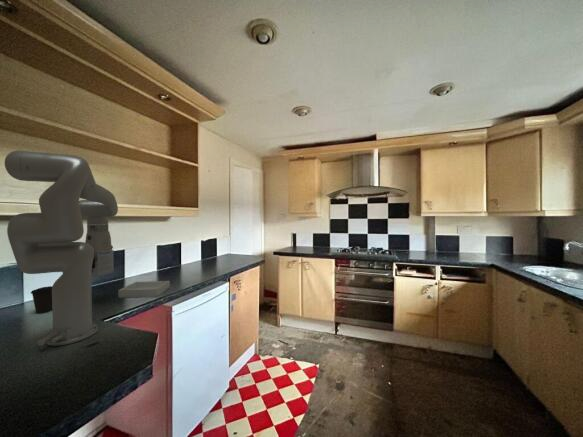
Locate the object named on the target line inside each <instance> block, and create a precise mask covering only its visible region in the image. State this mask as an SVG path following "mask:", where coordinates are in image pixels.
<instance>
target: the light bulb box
mask: <svg viewBox="0 0 583 437" xmlns="http://www.w3.org/2000/svg"><path fill="white" fill-rule="evenodd" d="M93 259H94V260H95V267H94V268H92V271H91V276H95V277H99V276H100V277H101V276H104V275H109V274H113V273H114V272H115V271H114V270H115V268H114V266H115V265H114V262H115V261H114V249H112V250H103V251H98V252H96V253H95V254H94V258H93Z"/></svg>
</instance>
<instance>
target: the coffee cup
mask: <svg viewBox="0 0 583 437" xmlns="http://www.w3.org/2000/svg"><path fill="white" fill-rule="evenodd" d="M52 286H53V285H52ZM52 286H50V285H49V286H43V287H42V286H41V287H39V288H36V289H33V290H31V292H30V294H32V295H31V296H32V299H33V300H32V301H33V305H34V310H35V313H36V314H37V315H39V314H47V313H50V312H52Z"/></svg>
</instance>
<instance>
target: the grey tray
mask: <svg viewBox="0 0 583 437" xmlns="http://www.w3.org/2000/svg"><path fill="white" fill-rule="evenodd" d="M170 288H171V282H170V280H156V281H154V280H153V281H134V282H132V283H131V284H128V285H125V286H124V287H122V288H120V289H118V290H117V292H118V293H117V295H118V296H117V297H118V299H140V298H141V297H150V298H157V296H158V295H159V296H161V295H162V294H164V293H165V292H167V291H168V290H169V289H170ZM160 294H161V295H160ZM159 296H158V297H159ZM141 299H142V298H141Z"/></svg>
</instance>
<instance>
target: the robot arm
mask: <svg viewBox="0 0 583 437" xmlns="http://www.w3.org/2000/svg"><path fill="white" fill-rule="evenodd" d="M4 167H5V170H6V172H7V174H8V175H9V176H10V177H12V178H13V179H15V180H18V181H22V182H41V183H42V182H43V183H53V184H51V185H50V186H49V187H48V188H47V189H45V190H44V191H43V192H42V194H41V195H40V196H39V198H38V205H39V209H40V212H22V213H19V214H16V215H14V216H13V217H10V219H9V221H8V224H7V229H6V230H7V231H6V232H7V233H6V234H7V238H8V242H9V245H10V248H11V250H12V253H13V256H14V259H15V262H16V264H17V268H18V269H19V270H20V272H22V273H24V274H27V275H35V274H37V275H41V274H50V273H62V274H61V275H60V276H59V277H58V278H57V279H56V280H55V282H54V283H53V284H52V311H51V312H52V315H51V316H52V328H51V329H49V334H48V335H47V336H44V337H42V338H41V339H38V341H37V345H38V346H40V347H42V346H44V345H48V346H51V347H57V346H59V347H60V346H65V345H70V344H74V343H77V342H80V341H82V340H85V339H87V338H89V337H91V336H93V335H95V333H97V332H98V329H99V326H98V324H96V323H93V310H92V309H93V302H92V301H93V300H92V295H93V294H92V275H91V271H92V268H94V267H95V260H94V259H93V258H94V254H95V253H96V252H98V251H103V250H113V248H114V247H113V245H112V238H111V232H110V230H109V218H112V217H115V216H116V215H117V214H118V213H119V212H118V211H119V209H118V208H119V206H118V202H117V200H116V197H115V195H114V193H112V192H111V191H110V190H108V189H107V188H105V187H104V186H102V185H99V184H98V183H97V182H96V180H95V177H94V175H93V172H92V170H91V168H90V165H89V163H88V161H87V160H86V159H84V158H83V157H81V156H78V155H72V154H63V153H50V152H38V151H30V150H29V151H25V150H13V151H11V152H9V153H7V155H6V157H5V159H4ZM83 218H86V235H85V241H84V242H83V241H79V240H80V239H82V237H83V235H84V232H85V231H84V222H83Z"/></svg>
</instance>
